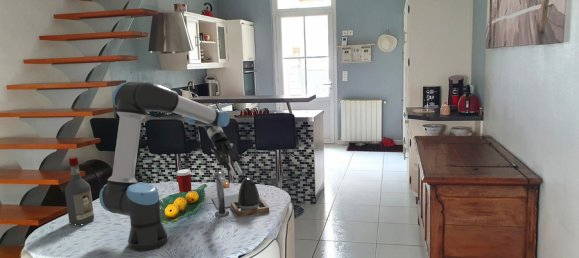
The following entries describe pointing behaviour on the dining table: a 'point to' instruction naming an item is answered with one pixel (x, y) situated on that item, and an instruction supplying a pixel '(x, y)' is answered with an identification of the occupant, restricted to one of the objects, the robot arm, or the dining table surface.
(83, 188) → the liquor
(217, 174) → the clip
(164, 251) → the dining table surface
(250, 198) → the dark grey rounded cone
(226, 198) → the mat
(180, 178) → the paper cup
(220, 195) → the post
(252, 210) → the cradle
